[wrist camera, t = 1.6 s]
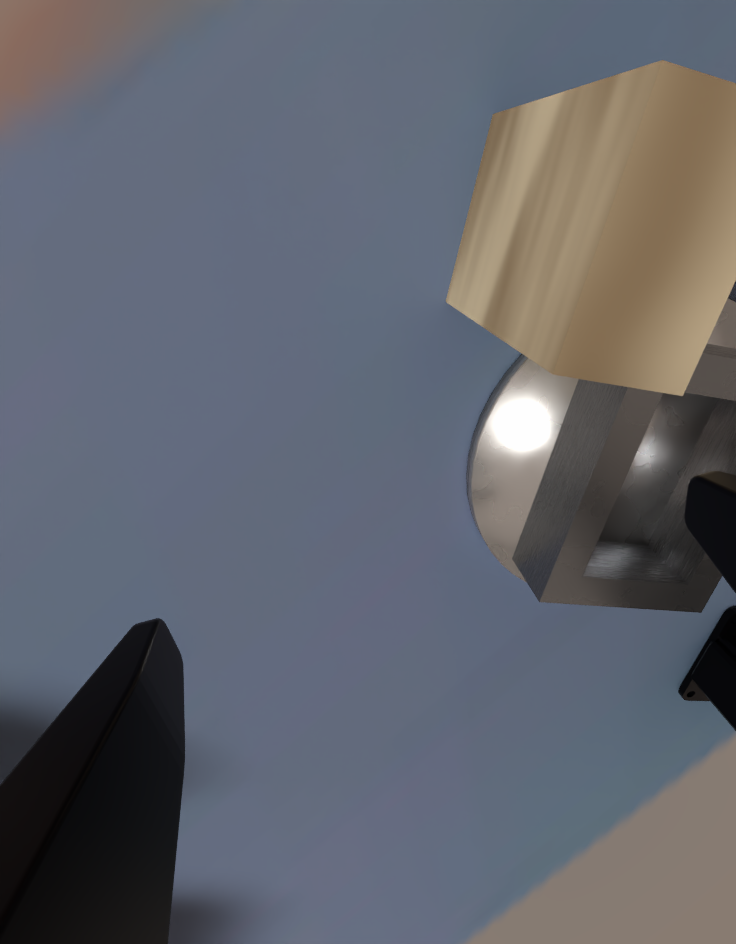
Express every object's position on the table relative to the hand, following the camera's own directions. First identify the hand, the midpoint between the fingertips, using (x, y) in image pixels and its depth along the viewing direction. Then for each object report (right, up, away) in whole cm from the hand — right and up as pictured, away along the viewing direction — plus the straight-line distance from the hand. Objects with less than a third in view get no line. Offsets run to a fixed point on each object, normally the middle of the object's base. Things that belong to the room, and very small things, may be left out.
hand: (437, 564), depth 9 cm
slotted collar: (+10, +2, +16) cm, 19 cm away
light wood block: (+4, +10, +11) cm, 15 cm away
